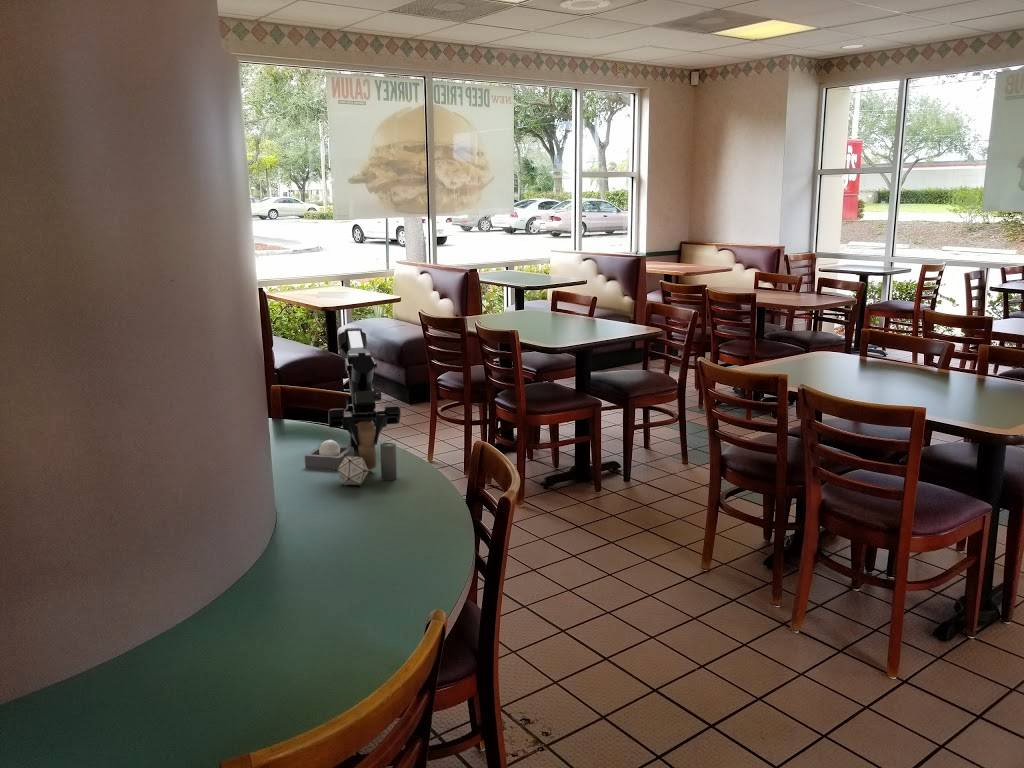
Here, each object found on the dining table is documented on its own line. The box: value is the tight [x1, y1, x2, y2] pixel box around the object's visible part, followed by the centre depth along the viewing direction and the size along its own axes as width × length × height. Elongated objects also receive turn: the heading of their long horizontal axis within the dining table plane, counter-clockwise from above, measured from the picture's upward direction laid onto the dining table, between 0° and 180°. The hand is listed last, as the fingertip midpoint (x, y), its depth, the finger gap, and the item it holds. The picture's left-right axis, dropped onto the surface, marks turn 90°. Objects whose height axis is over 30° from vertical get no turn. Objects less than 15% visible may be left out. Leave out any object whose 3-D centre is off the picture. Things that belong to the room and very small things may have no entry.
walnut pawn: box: [357, 421, 377, 471], centre depth 218 cm, size 4×4×12 cm
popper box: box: [304, 444, 355, 470], centre depth 227 cm, size 10×10×3 cm
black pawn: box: [379, 442, 398, 481], centre depth 215 cm, size 4×4×9 cm
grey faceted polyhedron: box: [333, 454, 373, 488], centre depth 209 cm, size 9×8×10 cm
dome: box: [319, 439, 340, 456], centre depth 227 cm, size 6×6×6 cm
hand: (367, 444), depth 217 cm, fingers closed on walnut pawn, 4 cm apart
